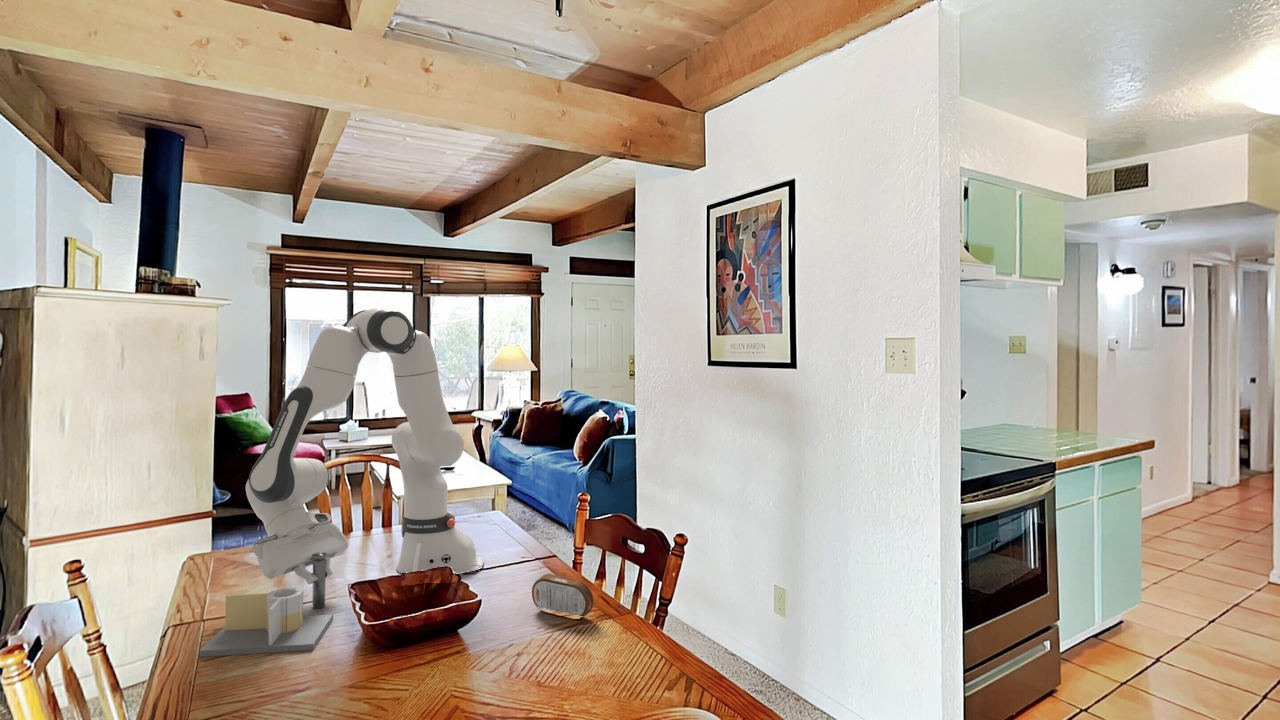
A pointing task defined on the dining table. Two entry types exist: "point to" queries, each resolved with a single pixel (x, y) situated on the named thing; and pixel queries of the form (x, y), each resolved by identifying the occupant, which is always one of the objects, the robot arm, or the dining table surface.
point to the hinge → (267, 625)
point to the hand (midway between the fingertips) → (321, 579)
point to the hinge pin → (319, 579)
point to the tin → (562, 595)
